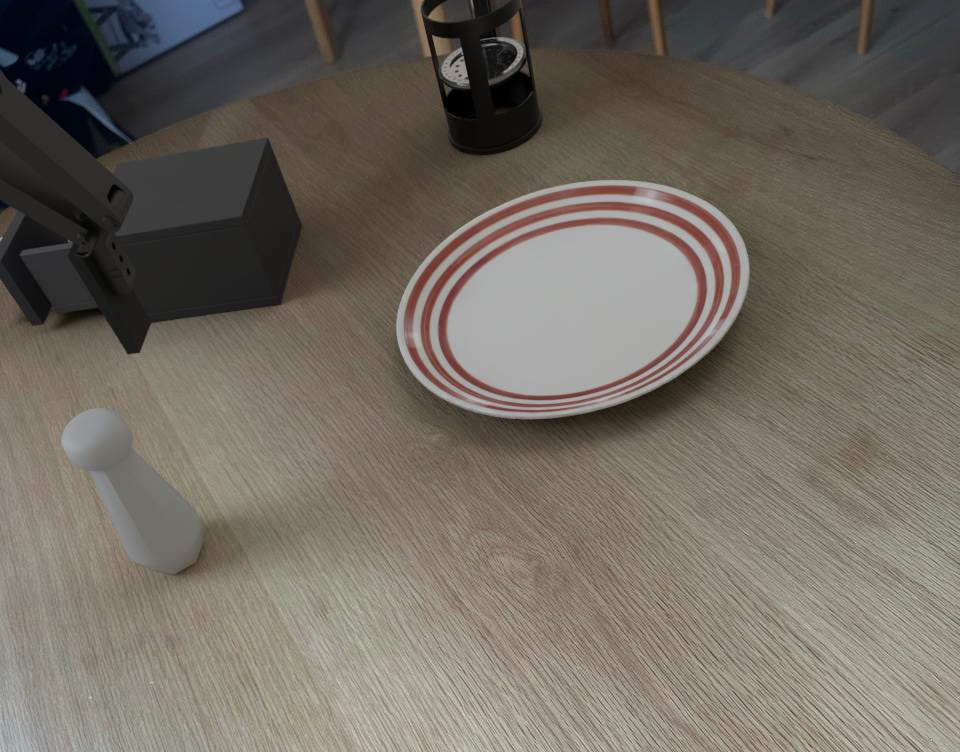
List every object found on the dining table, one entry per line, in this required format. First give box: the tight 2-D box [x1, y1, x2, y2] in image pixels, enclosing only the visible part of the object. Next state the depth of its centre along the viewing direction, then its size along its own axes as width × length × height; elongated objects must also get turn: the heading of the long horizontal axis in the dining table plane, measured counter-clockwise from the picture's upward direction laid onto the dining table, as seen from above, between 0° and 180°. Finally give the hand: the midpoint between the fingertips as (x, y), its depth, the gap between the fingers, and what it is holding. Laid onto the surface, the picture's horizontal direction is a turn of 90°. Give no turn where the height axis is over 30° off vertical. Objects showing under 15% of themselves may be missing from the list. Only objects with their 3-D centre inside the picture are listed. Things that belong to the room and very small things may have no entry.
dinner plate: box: [395, 179, 751, 420], centre depth 80 cm, size 27×27×3 cm
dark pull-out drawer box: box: [0, 210, 100, 327], centre depth 95 cm, size 20×11×7 cm, turn 86°
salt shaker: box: [60, 407, 204, 576], centre depth 70 cm, size 6×6×13 cm
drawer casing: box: [112, 137, 303, 323], centre depth 92 cm, size 15×12×9 cm
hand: (35, 353), depth 60 cm, fingers open, 13 cm apart
